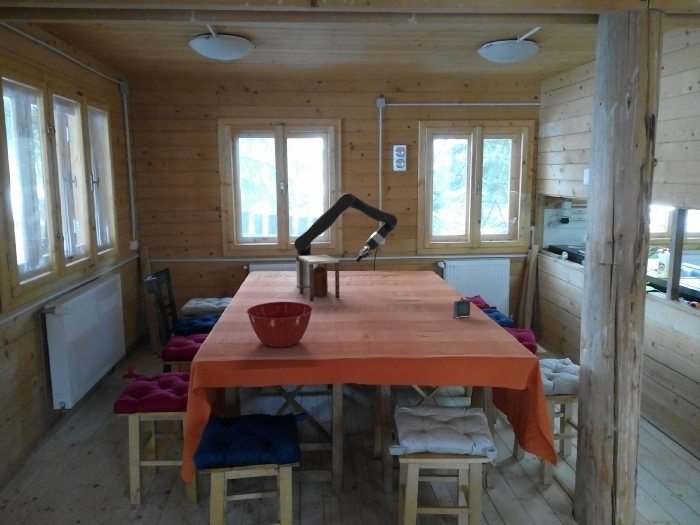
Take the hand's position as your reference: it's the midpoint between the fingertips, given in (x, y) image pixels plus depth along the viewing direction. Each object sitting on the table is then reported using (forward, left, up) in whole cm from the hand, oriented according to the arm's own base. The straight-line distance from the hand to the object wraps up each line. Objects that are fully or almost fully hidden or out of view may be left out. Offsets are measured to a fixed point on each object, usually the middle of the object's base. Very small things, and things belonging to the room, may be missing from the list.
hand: (356, 261), depth 344 cm
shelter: (+2, -26, -20) cm, 32 cm away
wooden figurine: (+1, -25, -20) cm, 32 cm away
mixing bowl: (+87, -71, -20) cm, 114 cm away
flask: (+80, +26, -20) cm, 86 cm away
